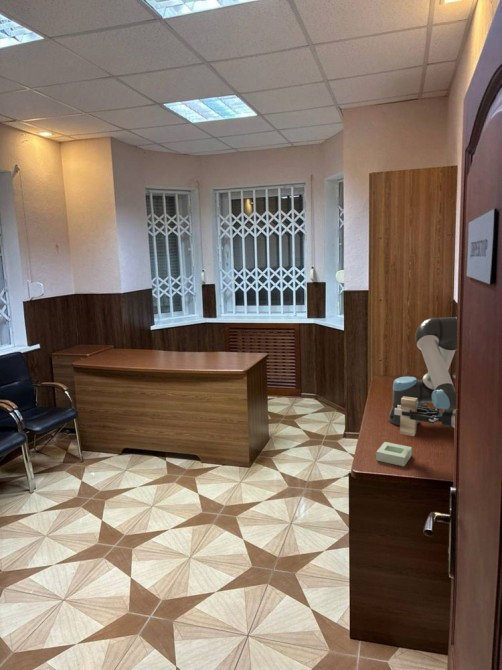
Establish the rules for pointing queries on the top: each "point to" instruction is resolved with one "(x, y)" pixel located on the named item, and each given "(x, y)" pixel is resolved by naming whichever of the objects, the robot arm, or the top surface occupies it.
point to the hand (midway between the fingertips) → (396, 409)
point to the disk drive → (422, 404)
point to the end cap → (394, 453)
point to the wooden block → (405, 422)
